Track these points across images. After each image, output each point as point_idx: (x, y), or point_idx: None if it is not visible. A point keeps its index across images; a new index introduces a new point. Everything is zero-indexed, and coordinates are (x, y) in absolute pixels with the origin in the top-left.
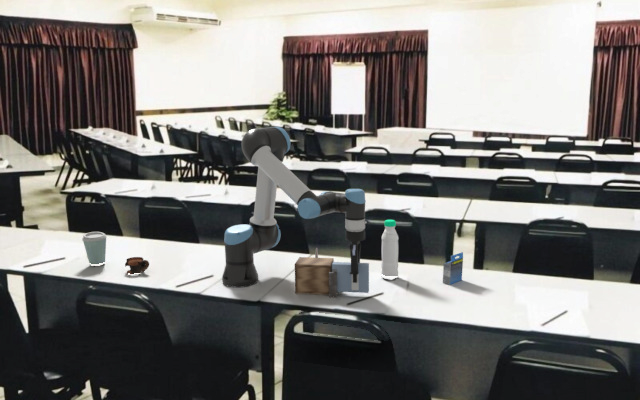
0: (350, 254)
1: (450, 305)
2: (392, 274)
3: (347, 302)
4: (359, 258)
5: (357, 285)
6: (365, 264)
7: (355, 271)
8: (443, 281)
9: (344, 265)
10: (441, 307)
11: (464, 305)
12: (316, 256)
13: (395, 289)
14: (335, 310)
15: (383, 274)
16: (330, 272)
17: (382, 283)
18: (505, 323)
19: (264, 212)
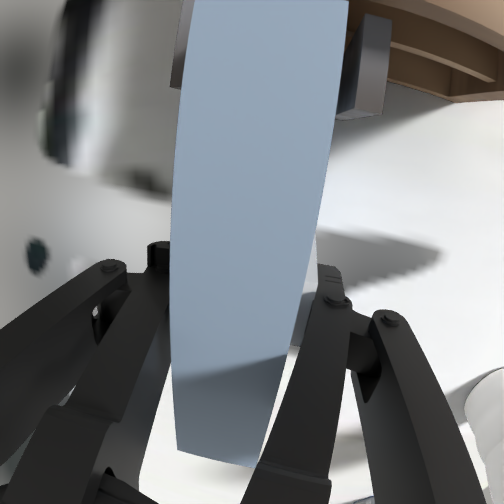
0: (37, 426)
1: (183, 475)
2: (470, 419)
3: (160, 171)
4: (367, 443)
5: None
6: (203, 442)
7: (100, 313)
8: (371, 500)
9: (179, 207)
10: (163, 459)
11: (188, 489)
12: None
13: (351, 407)
14: (62, 120)
15: (496, 387)
16: (188, 14)
17: (446, 368)
18: None
19: None
